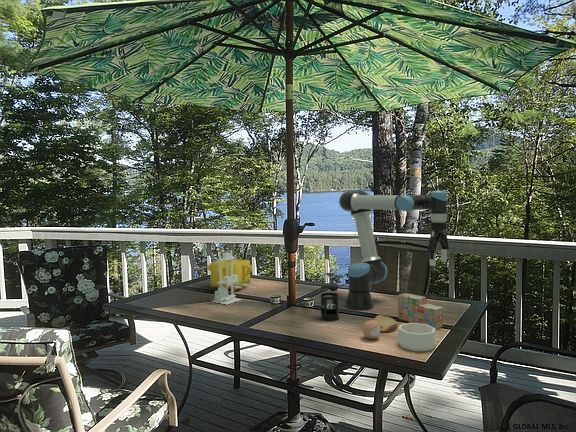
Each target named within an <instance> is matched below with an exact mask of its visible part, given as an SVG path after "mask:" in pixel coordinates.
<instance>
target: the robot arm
mask: <svg viewBox="0 0 576 432" xmlns="http://www.w3.org/2000/svg"><path fill="white" fill-rule="evenodd" d="M430 193H431V194H412V195H411V194H410V195H406V194H405V195H395V194H394V195H391V194H389V195H388V194H386V195H385V194H375V195H374V194H370V192H368V191H366V190H352V191H351V190H348V191H344V192H343V193H342V194H341V195H340V197H339V201H338V203H339V206H340V208H341V209H342V210H344V211H346V212H350V215H351V216H352V217H353V218H354V221H355V222H354V223H355V226H356V230H357V231H356V232H357V236H358V242H359V246H360V247H359V248H360V251H361V256H362V260H361V261H360V262H356V263H351V264H350V265H349V266H348V272H347V273H348V274H347V275H348V276H347V277H348V293H347V297H346V300H345V307H346V308H348V309H349V310H357V311H366V310H371V309H373V308H374V300H373V297H372V294H371V286H372V285H375V284H380V283H382V282H383V281H384V280H385V279H386V278H387V275H388V268H387V265H386V264H384V263H385V262H383V261H382V258H381V257H380V256H379V254H378V251H377V245H376V241H375V236H374V232H373V227H372V222H371V216H370V215H371V213H372V210H379V211H380V210H384V211H388V210H389V211H402V212H408V211H419V210H420V211H421V210H423V211H424V210H430V221H431V222H430V230H433V231H431V232H430V236H429V237H430V238H429V242H428V247H427V253H429V266H432V267H436V262H437V258H436V255H437V253H436V250H437V247H438V244H440V247H441V249H440V262H441V263H447V262H448V261H447V260H448V259H447V258H448V256H447V255H448V253H447V252H448V250H450V248H449V247H450V246H449V245H450V244H449V241H448V236H447V229H448V223H447V222H448V219H447V218H448V217H449V216H448V193H447V192H446V191H445V190H433V191H431V192H430Z"/></svg>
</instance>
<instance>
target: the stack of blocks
mask: <svg viewBox="0 0 576 432" xmlns="http://www.w3.org/2000/svg"><path fill="white" fill-rule="evenodd" d="M397 309H398V311H397V312H398V313H397V315H398V316H397V317H398V319H399V320H402V321H405V322H407V323H420V324H427V325H429V326H431V327H434V328H435V330H437V329H439V328H442V327H443V325H444V321H443V320H444V307H443V306H438V305H435V304H431V303H427V296H422V295H418V294H412V293H407V292H404V293H400V294H398V295H397Z"/></svg>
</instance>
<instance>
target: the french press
mask: <svg viewBox="0 0 576 432" xmlns="http://www.w3.org/2000/svg"><path fill="white" fill-rule="evenodd" d="M324 275H326V276H327V277H328V283H322V284H320V287H321V291H322V290H323V289H328V292H323V293H321V294H320V301H321V303H320V304H321V311H320V320H322V321H324V322H336V321H338V320H340V316H339V314H340V311H339V293H337V292H336V291H338V287H339V284H337V283H332V282H331V281H330V280H331V276H332V275H334V273H332V272H326V273H324ZM330 300H331V301H332V302H331V301H330ZM327 301H328V303H327Z"/></svg>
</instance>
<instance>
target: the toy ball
mask: <svg viewBox="0 0 576 432" xmlns="http://www.w3.org/2000/svg"><path fill="white" fill-rule="evenodd" d="M362 333H363V335H364V337H365V338H367V339H369V340H370V339H371V340H375V339H377V338H379V336H380V334H381V333H380V327H379V323H378V322H376V321H374V319H370V320H367V321H365V322H364V323H363V325H362Z"/></svg>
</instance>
